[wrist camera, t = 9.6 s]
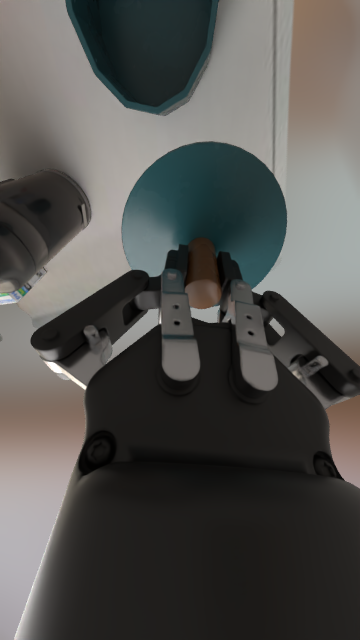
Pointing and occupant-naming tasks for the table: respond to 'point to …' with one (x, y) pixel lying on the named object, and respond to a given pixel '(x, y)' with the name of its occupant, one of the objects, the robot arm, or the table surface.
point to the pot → (146, 48)
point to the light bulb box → (21, 290)
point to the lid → (205, 216)
